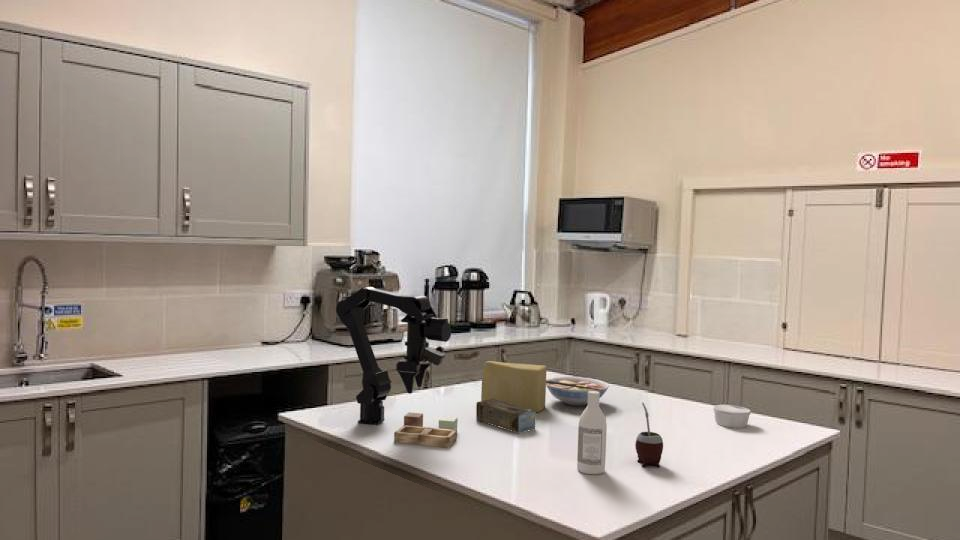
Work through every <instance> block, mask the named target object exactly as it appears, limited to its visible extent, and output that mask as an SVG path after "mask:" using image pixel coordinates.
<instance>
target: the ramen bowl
mask: <svg viewBox="0 0 960 540" xmlns="http://www.w3.org/2000/svg"><path fill="white" fill-rule="evenodd" d="M609 387H610V384H609V383H608V382H606V381H603V380H601V379H596V378H591V377H580V376H558V377H557V376H556V377H551V378H546V389H548V391H549V392H550V394H551V396H553V397H554V398H555V399H557V400H559V401H560V402H564V404H566V405H569V406H575V407H582V406H583V407H584V406H586V405H588V392H589V391H597V392H599V393H600V399H601V398H602V396H604V394H605V393H606V392H607V390H608V389H609Z"/></svg>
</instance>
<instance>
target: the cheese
mask: <svg viewBox="0 0 960 540" xmlns="http://www.w3.org/2000/svg"><path fill="white" fill-rule="evenodd" d="M547 371H548V370H547V366H546V365H540V364H539V365H538V364H530V363H529V364H528V363H512V362H503V361H502V362H501V361H493V360H488V361H485V362H484V364H483V371H482V378H481V394H480V397H481V398H480V401H484V400H490V399H497V400H501V401H503V402H507V403H510V404H514V405H517V406H520V407H523V408H526V409H530V410H533V411H535V412H536V413H539V412H541V411H542V410H543V409H545V407H546V394H547V393H546V392H547V391H546V390H547V386H546V380H547Z"/></svg>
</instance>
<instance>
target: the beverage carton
mask: <svg viewBox="0 0 960 540" xmlns="http://www.w3.org/2000/svg"><path fill="white" fill-rule="evenodd" d="M475 404H476V406H475V407H476V409H475V410H476V412H475V413H476V415H475V416H476V417H475V418H476V419H477V420H476V421H479V420H480V421H479V422H481V421H483V422H482V423H485V422H486V423H485V424H488V423H490V424H489V425H491V424H493V425H492V426H494V425H496V426H495V427H497V426H500V427H503V428H506V429H509V430H512V431H511V432H513V431H515V432H514V433H516V432H518V433H517V434H520V433H519V432H522V433H525V432H524V431H526V432H529V431H528V430H530V431H533V429H534V430H535V429H536V413H537V412H535V411H533V410H530V409H526V408H523V407H520V406H517V405H514V404H510V403H507V402H503V401H501V400H497V399H490V400H484V401H481V400H480V401H477V402H476V403H475ZM500 427H499V428H500ZM503 428H502V429H503ZM506 429H505V430H506ZM509 430H508V431H509Z"/></svg>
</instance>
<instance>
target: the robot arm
mask: <svg viewBox="0 0 960 540" xmlns="http://www.w3.org/2000/svg"><path fill="white" fill-rule="evenodd" d="M371 302H373V303H375V304H380V305H384V306H387V307H392V308H396V309H398V310H399V311H400V312H401V313H403V314H405V316H404V317H402V319H401V320H400V322H401V323H406V324H407V328H406V331H407V332H406V341H404V346H405V347H406V352H405V353H406V354H405V355H404V357H403V358H402V359H400V360H399V361H398V362H397V363H396V365H395V371H397V373H398V374H399V376H400V378H401V380H402V382H403V384H404V385H403V386H404V387H405V390H406V392H407V393H408V394H409V395H410V394H413V390H414V384H415V383H416V386H417V387H418V388H421V387H422V386H423V382H424V380H425V379H424V378H425V375H426V373H427V370H428V368H430V367H431V366H432V365H435V366H437V367H438V366H439V365H442V363H443V361H444V359H445V357H446V352H445V350H444V347H443V346H440V345H438V346H437V347H436V348H435V347H431V346H430V342H429V341H435V342H444V343H446V342H448V341H449V340H450V339H451V336H452V328H451V325H450V323H449V318H448V317H442V318H441V317H438V316H437V314H436V312H435V310H434V308H433V307H432V306H431V301H430V299H429V298H428V297H427V296H426V295H404V294H400V293H396V292H391V291H387V290H382V289H379V288H375V287H373V286H365V287H361V288H360V289H359V290H357V291H356V292H355V293H353V294H351V295H349V296H348V297H346V298H345V299H342V300H340V301H339V302H338V303H337V304H336V307H335V312H336V315H337V317H338V319H339V321H340V322H341V324H343V325H344V326H345V328H347V330H348V331H349V332H348V333H349V336H350V337H351V340H352V343H353V346H354V350H355V352H356V355H357V358H358V361H359V364H360V368H361V370H362V377H361V378H362V380H361V386H362V390H361V391H360V392H359V393H358V394H357V395H356V397H355V399H356V402H357V404H360V405H359V406H360V407H359V408H360V410H359V419H358V420H357V423H359V424H369V425H378V424H381V422H383V421H384V420H385V405H384V403H383V402H384V401H386V399H387V397H388V395H389V394H390V392H391V389H392V385H391V383H392V380H391V379H390V375H389V372H388V370H382V369H381V368H380V367H379V365H378V362H377V359H376V355H375V353H374V351H373V348H372V345H371V341H370V339H369V336H368V333H367V330H366V327H365V325H364V323H365V317H366V314H365V309H366V308H367V307H368V306H369V305H370V304H371ZM428 340H429V341H428Z"/></svg>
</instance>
